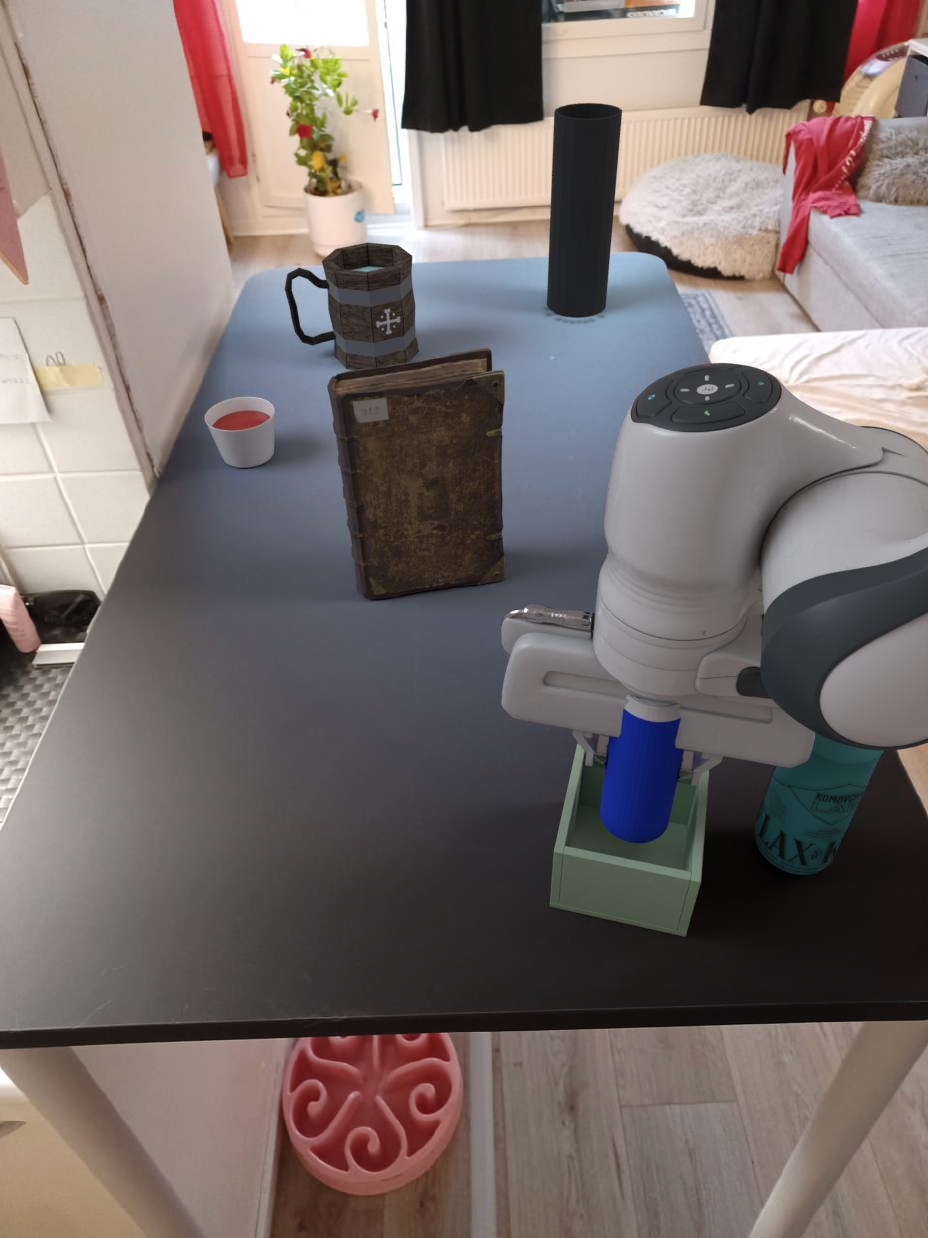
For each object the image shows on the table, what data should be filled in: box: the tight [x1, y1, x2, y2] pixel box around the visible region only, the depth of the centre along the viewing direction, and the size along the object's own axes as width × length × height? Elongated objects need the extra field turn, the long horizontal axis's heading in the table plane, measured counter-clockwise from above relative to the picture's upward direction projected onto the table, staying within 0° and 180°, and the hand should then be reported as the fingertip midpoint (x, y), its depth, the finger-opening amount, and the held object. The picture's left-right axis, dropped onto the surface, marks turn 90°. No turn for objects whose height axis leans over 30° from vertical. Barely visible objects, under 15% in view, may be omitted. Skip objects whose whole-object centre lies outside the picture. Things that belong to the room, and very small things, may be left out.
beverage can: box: [600, 695, 685, 844], centre depth 62 cm, size 5×5×15 cm
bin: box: [549, 743, 710, 938], centre depth 69 cm, size 10×10×8 cm
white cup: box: [204, 396, 276, 469], centre depth 118 cm, size 9×9×6 cm
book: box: [326, 346, 507, 600], centre depth 91 cm, size 17×7×25 cm, turn 99°
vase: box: [546, 102, 623, 318], centre depth 144 cm, size 10×10×30 cm
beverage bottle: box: [752, 733, 885, 876], centre depth 65 cm, size 6×7×20 cm
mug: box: [284, 242, 420, 371], centre depth 137 cm, size 20×14×15 cm
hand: (642, 769), depth 63 cm, fingers closed on beverage can, 5 cm apart
